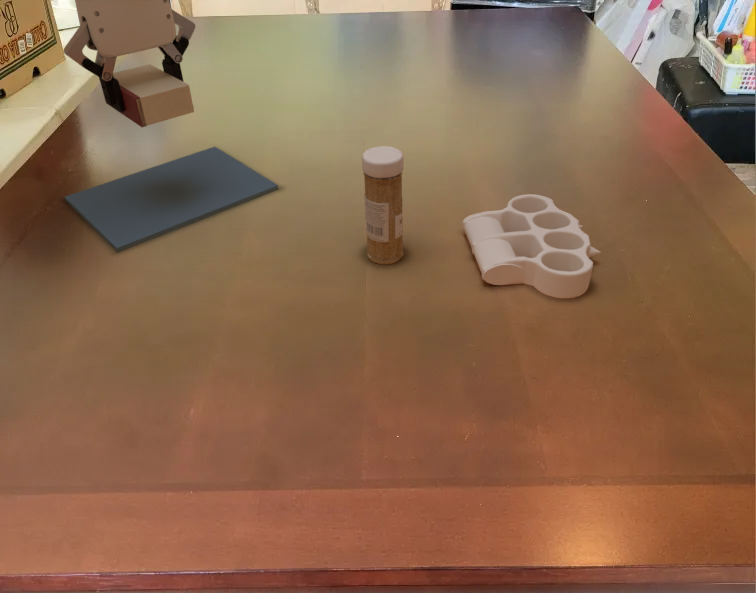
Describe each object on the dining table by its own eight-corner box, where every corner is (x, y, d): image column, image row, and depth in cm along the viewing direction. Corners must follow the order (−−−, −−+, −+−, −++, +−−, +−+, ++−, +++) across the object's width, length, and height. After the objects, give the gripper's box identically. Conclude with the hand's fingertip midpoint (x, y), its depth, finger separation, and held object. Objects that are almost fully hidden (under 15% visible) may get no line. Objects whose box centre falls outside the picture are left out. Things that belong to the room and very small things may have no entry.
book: (105, 103, 86) (98, 75, 84) (156, 90, 89) (150, 63, 87) (141, 127, 79) (134, 98, 77) (194, 112, 83) (189, 84, 80)
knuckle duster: (456, 221, 86) (565, 213, 87) (489, 306, 71) (619, 295, 72) (457, 198, 84) (569, 190, 85) (491, 281, 69) (625, 270, 70)
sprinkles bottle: (410, 257, 79) (411, 154, 71) (380, 270, 77) (377, 166, 69) (388, 241, 82) (387, 140, 74) (358, 253, 80) (353, 151, 72)
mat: (118, 253, 82) (116, 247, 81) (65, 201, 93) (64, 196, 92) (278, 190, 94) (278, 185, 93) (215, 151, 105) (214, 146, 104)
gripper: (166, -69, 80) (195, 77, 90) (18, -48, 71) (69, 110, 82) (196, -62, 75) (222, 91, 86) (41, -39, 66) (92, 128, 77)
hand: (147, 99), depth 84 cm, fingers closed on book, 7 cm apart
